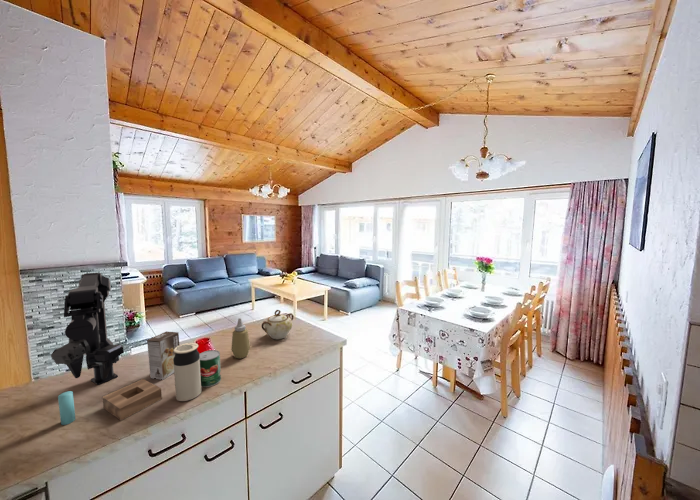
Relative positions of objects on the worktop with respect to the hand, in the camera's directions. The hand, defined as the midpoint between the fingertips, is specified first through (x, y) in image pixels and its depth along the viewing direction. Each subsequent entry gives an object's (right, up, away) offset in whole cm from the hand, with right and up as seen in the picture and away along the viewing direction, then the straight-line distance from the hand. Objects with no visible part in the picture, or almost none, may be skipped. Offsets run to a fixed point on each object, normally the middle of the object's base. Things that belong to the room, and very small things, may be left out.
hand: (90, 378), depth 86 cm
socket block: (+7, -13, +8) cm, 16 cm away
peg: (-7, -13, 0) cm, 15 cm away
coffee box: (+6, -11, +27) cm, 30 cm away
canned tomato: (+26, -11, +21) cm, 36 cm away
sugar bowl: (+42, -7, +64) cm, 77 cm away
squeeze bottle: (+31, -9, +42) cm, 53 cm away
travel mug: (+23, -12, +13) cm, 29 cm away
